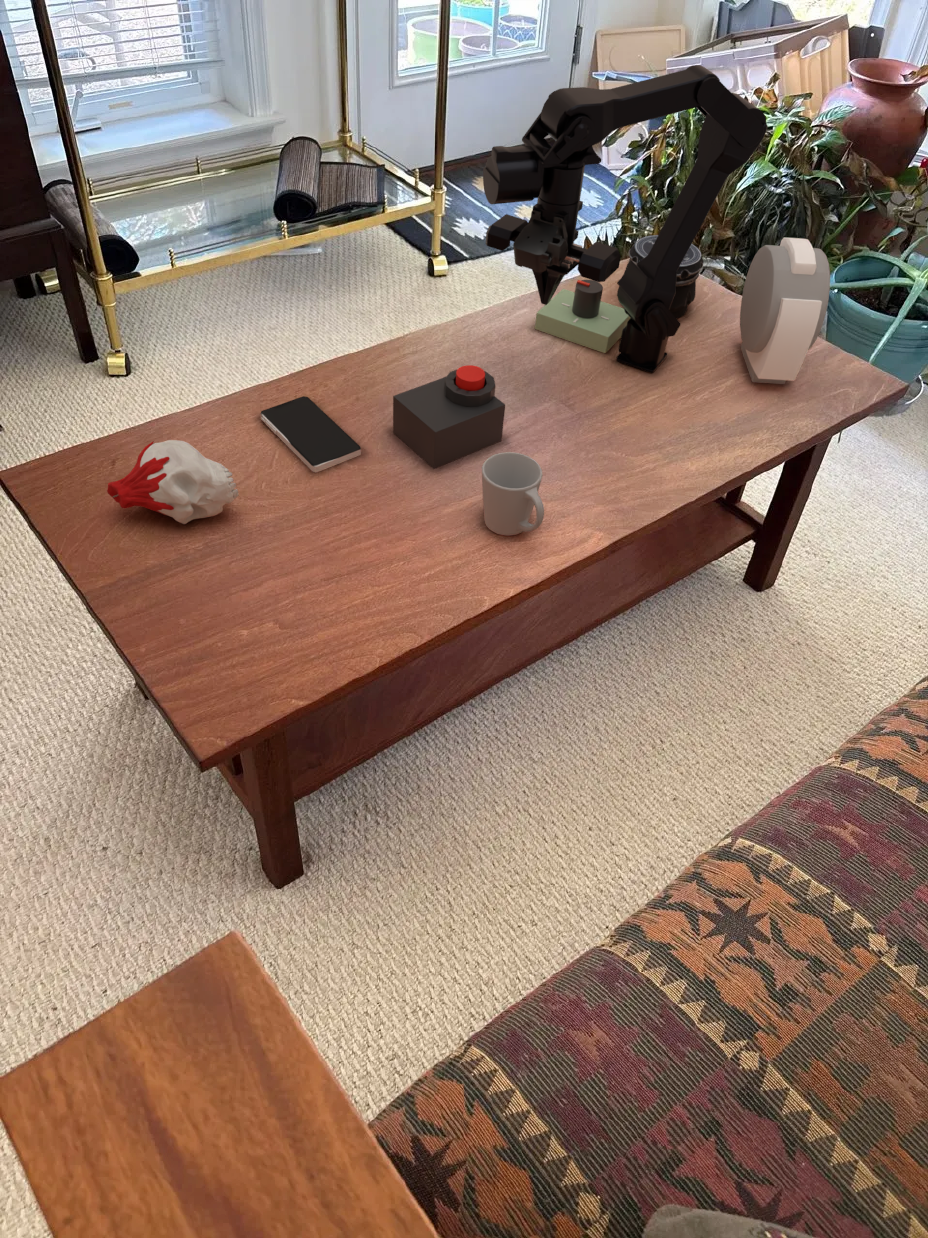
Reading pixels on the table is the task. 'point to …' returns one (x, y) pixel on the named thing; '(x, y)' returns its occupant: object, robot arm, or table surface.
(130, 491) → the candle
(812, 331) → the alarm clock
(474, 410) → the button housing
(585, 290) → the timer knob
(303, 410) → the smartphone
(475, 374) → the power button
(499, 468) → the cup
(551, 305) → the timer panel
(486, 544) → the table surface
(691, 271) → the container
